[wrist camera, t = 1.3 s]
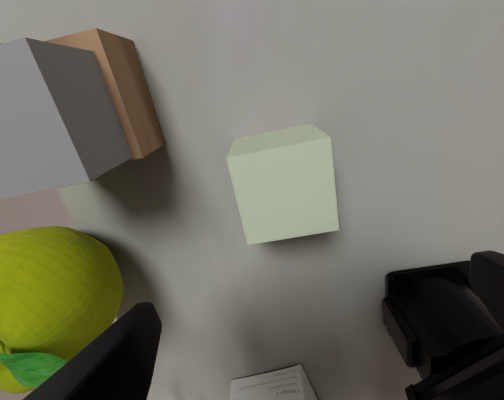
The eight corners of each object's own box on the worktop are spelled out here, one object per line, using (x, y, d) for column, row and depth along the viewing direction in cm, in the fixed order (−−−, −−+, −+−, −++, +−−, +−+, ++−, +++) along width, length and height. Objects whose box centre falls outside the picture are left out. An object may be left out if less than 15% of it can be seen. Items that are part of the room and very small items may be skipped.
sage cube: (311, 123, 17) (330, 137, 13) (320, 195, 19) (339, 229, 15) (234, 139, 18) (226, 158, 13) (250, 207, 20) (247, 245, 15)
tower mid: (93, 51, 13) (25, 37, 9) (133, 156, 14) (90, 181, 11) (-4, 75, 13) (-107, 71, 9) (47, 174, 15) (-22, 203, 11)
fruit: (162, 288, 23) (96, 428, 14) (63, 308, 24) (-60, 450, 15) (113, 187, 19) (-20, 282, 10) (0, 216, 20) (-212, 325, 11)
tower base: (133, 41, 16) (95, 28, 12) (166, 143, 18) (143, 158, 14) (40, 64, 17) (-23, 58, 13) (83, 160, 19) (40, 178, 15)
